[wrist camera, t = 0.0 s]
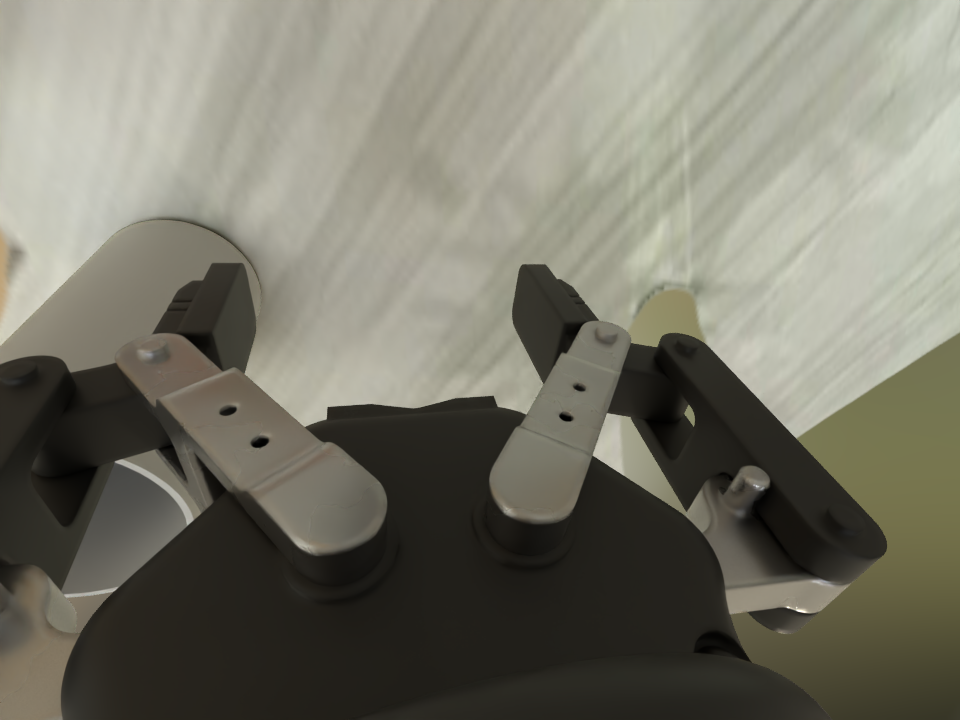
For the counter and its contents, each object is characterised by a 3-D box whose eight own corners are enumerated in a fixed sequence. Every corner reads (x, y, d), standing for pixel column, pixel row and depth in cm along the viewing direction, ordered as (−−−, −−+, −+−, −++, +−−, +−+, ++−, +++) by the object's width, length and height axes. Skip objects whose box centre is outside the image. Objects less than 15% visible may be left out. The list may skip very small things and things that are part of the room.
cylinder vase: (275, 246, 41) (211, 460, 22) (248, 354, 47) (179, 598, 28) (104, 192, 36) (-179, 413, 17) (98, 322, 42) (-116, 596, 23)
